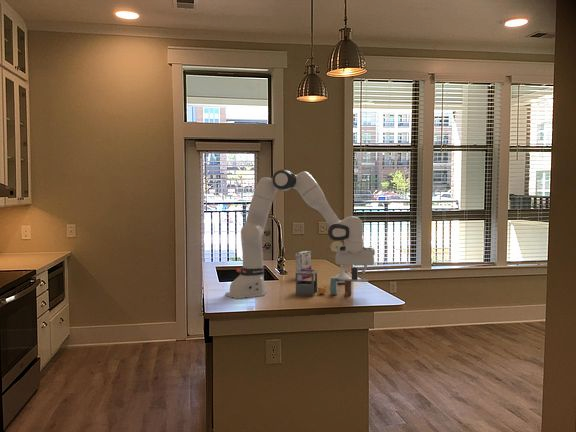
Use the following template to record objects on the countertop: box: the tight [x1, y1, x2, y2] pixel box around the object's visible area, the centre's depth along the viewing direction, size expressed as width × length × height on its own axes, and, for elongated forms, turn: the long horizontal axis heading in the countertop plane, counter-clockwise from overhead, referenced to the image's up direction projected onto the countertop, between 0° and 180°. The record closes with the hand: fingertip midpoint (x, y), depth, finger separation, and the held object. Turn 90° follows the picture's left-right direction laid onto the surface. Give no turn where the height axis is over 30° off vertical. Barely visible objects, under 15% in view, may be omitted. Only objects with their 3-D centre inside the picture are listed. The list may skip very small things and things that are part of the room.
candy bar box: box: [294, 250, 313, 280], centre depth 317 cm, size 11×5×16 cm, turn 143°
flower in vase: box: [329, 241, 352, 284], centre depth 298 cm, size 13×11×25 cm
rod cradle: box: [344, 280, 352, 297], centre depth 264 cm, size 3×5×8 cm, turn 168°
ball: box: [317, 286, 327, 295], centre depth 267 cm, size 4×4×4 cm
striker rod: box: [329, 266, 369, 295], centre depth 264 cm, size 20×6×14 cm, turn 78°
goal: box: [295, 269, 318, 297], centre depth 269 cm, size 10×12×12 cm
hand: (354, 273), depth 263 cm, fingers open, 8 cm apart
